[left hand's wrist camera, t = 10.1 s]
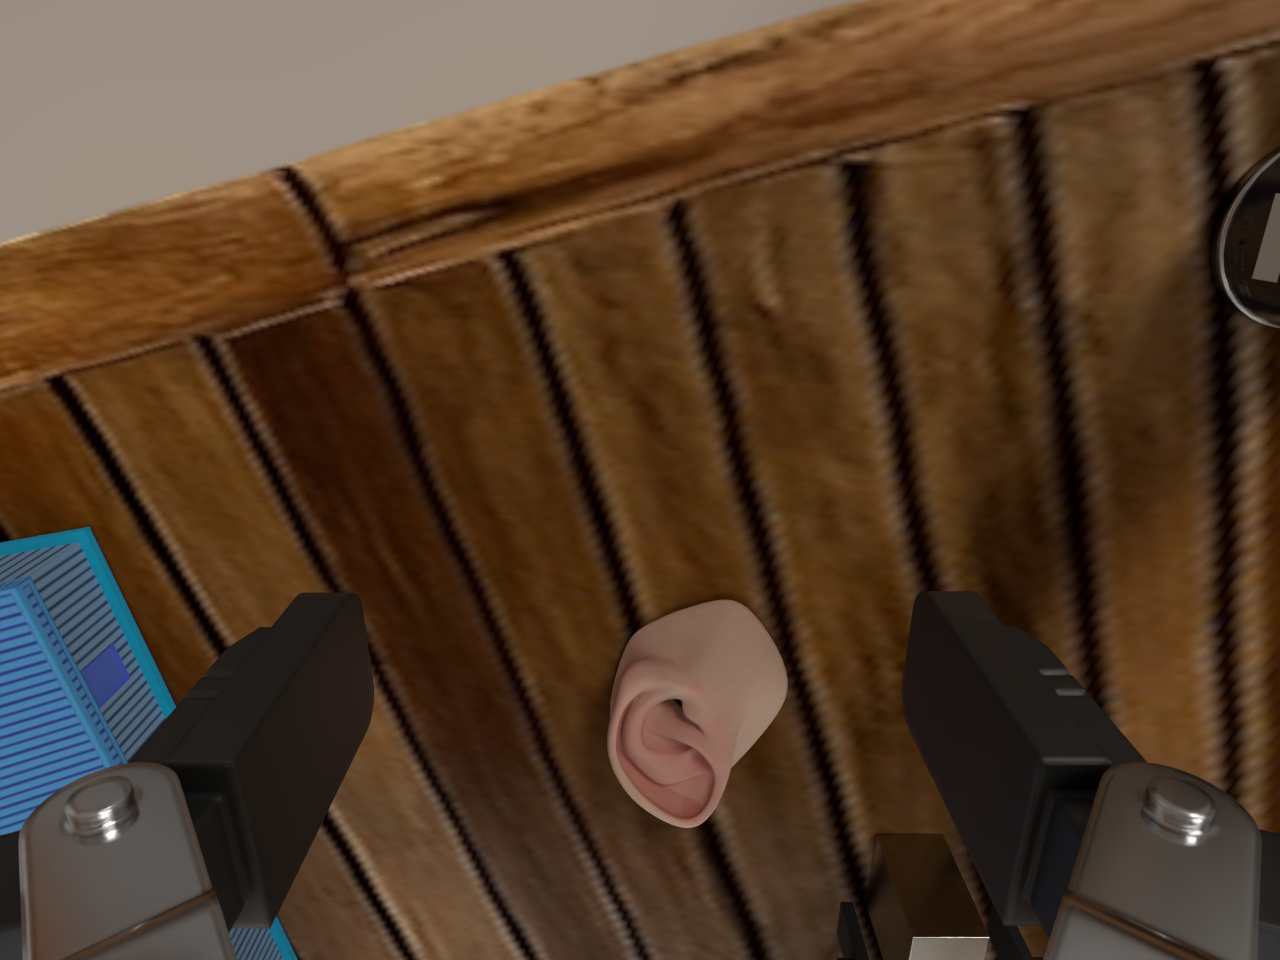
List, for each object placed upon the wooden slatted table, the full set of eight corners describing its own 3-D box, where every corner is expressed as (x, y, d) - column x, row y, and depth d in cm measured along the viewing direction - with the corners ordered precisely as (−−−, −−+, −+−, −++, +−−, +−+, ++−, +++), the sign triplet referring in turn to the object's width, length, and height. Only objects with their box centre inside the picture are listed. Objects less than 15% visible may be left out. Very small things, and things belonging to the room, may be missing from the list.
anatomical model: (709, 603, 43) (850, 723, 46) (703, 569, 46) (834, 682, 49) (547, 748, 46) (687, 851, 49) (554, 705, 50) (684, 803, 53)
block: (865, 904, 56) (899, 1013, 49) (875, 833, 54) (912, 937, 47) (930, 904, 56) (973, 1013, 49) (943, 834, 54) (990, 937, 47)
